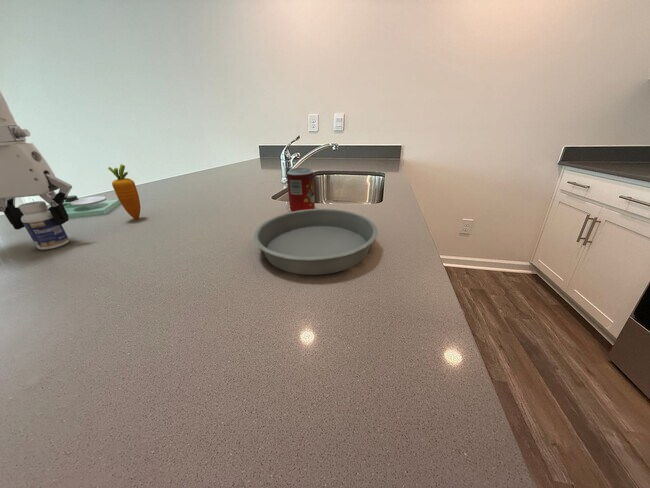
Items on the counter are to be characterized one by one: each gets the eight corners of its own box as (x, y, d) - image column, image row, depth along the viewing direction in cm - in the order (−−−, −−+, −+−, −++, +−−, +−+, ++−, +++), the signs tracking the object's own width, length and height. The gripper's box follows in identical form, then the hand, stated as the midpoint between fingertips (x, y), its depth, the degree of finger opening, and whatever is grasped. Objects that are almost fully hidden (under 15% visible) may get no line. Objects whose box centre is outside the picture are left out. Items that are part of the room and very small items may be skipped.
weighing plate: (65, 207, 74) (64, 205, 74) (80, 199, 81) (79, 198, 81) (99, 204, 76) (98, 202, 76) (111, 196, 84) (110, 195, 83)
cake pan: (264, 228, 64) (261, 211, 62) (361, 222, 66) (362, 205, 64) (246, 286, 42) (241, 262, 40) (393, 275, 44) (395, 252, 42)
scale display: (47, 210, 72) (46, 209, 72) (57, 205, 76) (57, 204, 76) (57, 209, 73) (57, 208, 73) (67, 204, 77) (67, 203, 77)
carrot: (122, 221, 71) (99, 165, 64) (139, 215, 75) (120, 162, 68) (134, 223, 69) (112, 166, 63) (151, 217, 73) (132, 163, 67)
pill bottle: (42, 252, 55) (16, 209, 51) (34, 247, 58) (9, 205, 54) (73, 242, 59) (53, 202, 55) (65, 238, 62) (44, 198, 58)
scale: (46, 220, 74) (40, 210, 72) (70, 207, 84) (66, 198, 83) (105, 214, 77) (101, 204, 76) (121, 202, 88) (117, 194, 87)
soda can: (313, 217, 70) (310, 171, 64) (287, 217, 71) (283, 172, 65) (316, 209, 76) (314, 166, 71) (293, 209, 77) (289, 167, 71)
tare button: (64, 203, 80) (61, 198, 79) (69, 200, 82) (67, 195, 81) (75, 202, 80) (73, 197, 80) (80, 199, 83) (78, 195, 82)
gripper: (61, 133, 54) (97, 214, 62) (-48, 138, 50) (6, 224, 57) (38, 135, 47) (81, 225, 55) (-90, 140, 43) (-23, 237, 51)
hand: (43, 224), depth 56 cm, fingers open, 6 cm apart
